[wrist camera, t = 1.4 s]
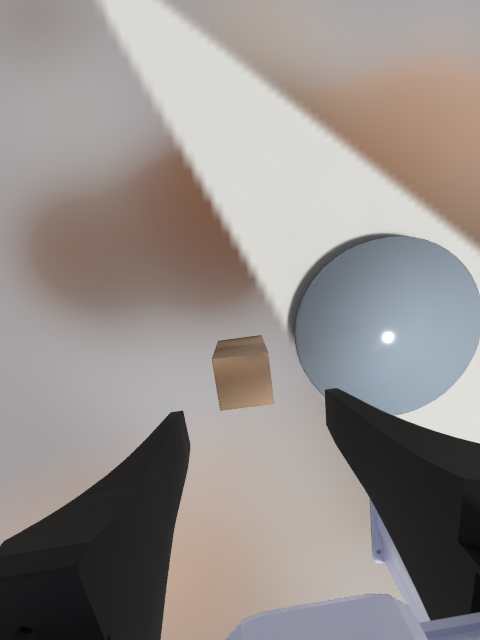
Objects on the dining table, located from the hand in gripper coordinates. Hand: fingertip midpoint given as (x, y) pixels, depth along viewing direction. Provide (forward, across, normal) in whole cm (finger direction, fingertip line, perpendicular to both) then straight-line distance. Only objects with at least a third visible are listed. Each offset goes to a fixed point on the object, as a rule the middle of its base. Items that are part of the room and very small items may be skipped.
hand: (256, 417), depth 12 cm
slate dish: (+10, -13, 0) cm, 16 cm away
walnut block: (+10, 0, +1) cm, 10 cm away
